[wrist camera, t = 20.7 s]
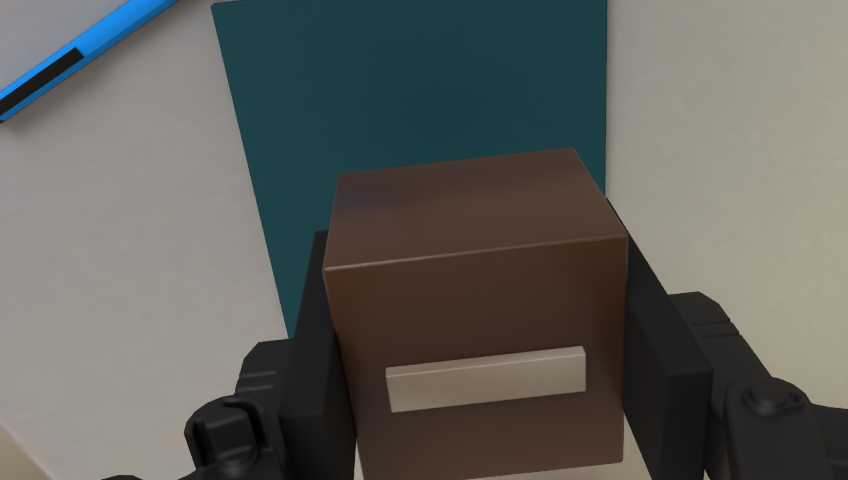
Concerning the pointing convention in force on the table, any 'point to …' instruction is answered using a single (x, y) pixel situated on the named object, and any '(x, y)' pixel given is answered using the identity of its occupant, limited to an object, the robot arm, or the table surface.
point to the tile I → (479, 316)
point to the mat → (400, 97)
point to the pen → (78, 53)
